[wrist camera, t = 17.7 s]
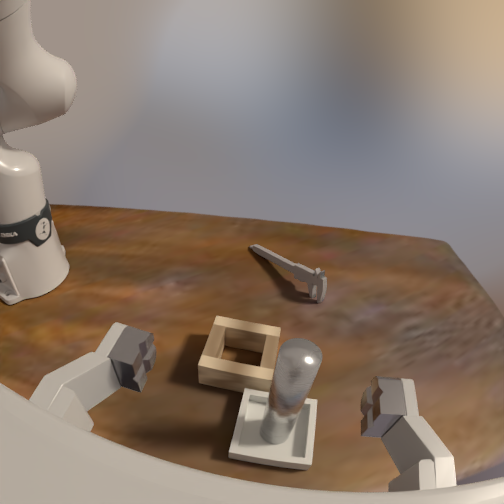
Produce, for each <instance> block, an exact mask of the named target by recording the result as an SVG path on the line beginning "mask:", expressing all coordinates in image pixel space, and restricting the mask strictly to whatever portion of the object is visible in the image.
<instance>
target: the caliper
mask: <svg viewBox="0 0 504 504" xmlns="http://www.w3.org/2000/svg"><path fill="white" fill-rule="evenodd" d="M249 247H250V248H251V249H253V251H254V252H256V253H257V254H258V255H260V256H262V257H264V258H266V259H268V260H270V261H271V262H273V263H275V264H277V265H279V266H281V267H282V268H284V269H286V270H288V271H290V272H292V273H293V274H294V278H295V279H298V280H299V281H302V282H307V284H308V290H309V295H310V297H311V298H314V297H316V286H317V303H320V302H322V301H323V300H324V296H325V293H326V289H327V278H326V277H325V276H324V274H325V270H323V271H320V268H317V269H315V271H314V270H312V269H310V268H307V267H305V266H303V265H301V264H299V263H298V264H295V263H293V262H291V261H289V260H287V259H285V258H283V257H281V256H279V255H277V254H275V253H273V252H272V251H270V250H268V249H266V248H264V247H262V246H260V245H258V244H256V245H252V246H249Z"/></svg>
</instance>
